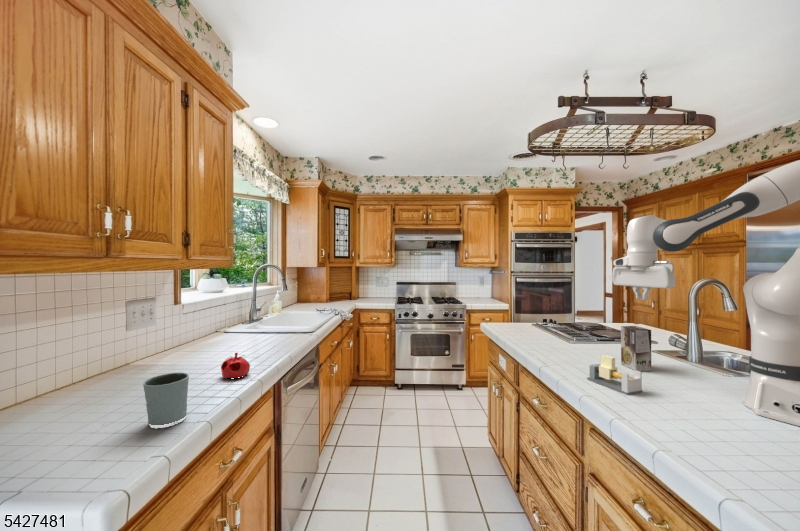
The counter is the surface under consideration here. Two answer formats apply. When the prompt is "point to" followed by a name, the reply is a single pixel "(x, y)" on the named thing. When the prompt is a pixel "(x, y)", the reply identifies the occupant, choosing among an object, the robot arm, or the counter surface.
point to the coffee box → (636, 348)
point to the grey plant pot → (166, 397)
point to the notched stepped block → (607, 367)
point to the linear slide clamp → (627, 385)
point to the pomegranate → (235, 367)
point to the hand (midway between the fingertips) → (641, 299)
